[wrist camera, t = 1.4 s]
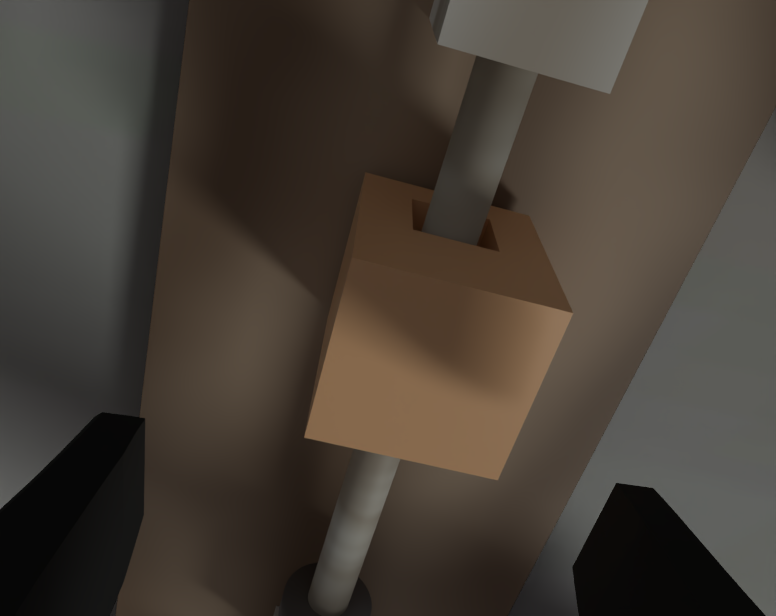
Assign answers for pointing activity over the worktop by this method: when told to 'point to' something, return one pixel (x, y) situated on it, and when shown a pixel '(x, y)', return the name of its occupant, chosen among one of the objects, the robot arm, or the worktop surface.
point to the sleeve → (435, 335)
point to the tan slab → (444, 218)
